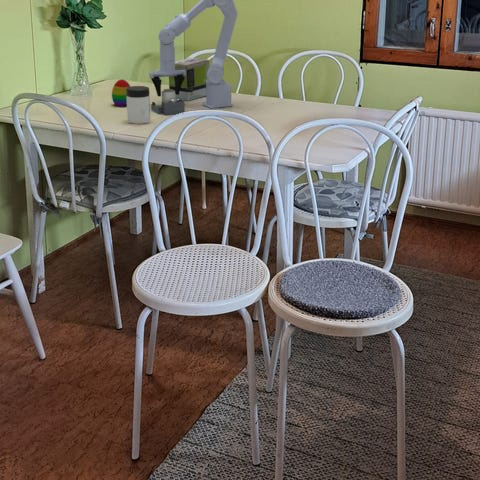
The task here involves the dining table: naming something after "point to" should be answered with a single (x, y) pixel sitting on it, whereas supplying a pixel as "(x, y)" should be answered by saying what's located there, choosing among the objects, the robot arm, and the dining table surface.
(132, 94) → the jar
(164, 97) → the pump
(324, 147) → the dining table surface
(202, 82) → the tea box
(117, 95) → the decorative egg
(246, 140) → the dining table surface
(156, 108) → the motor cradle
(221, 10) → the robot arm
